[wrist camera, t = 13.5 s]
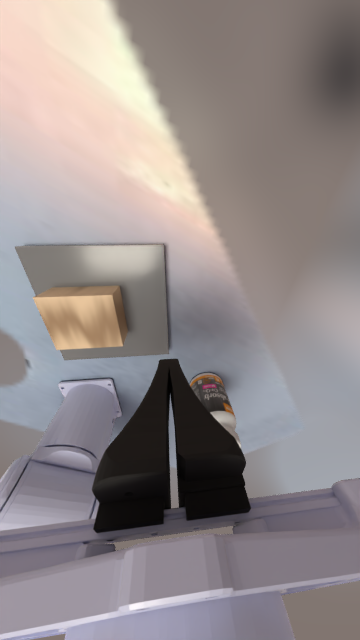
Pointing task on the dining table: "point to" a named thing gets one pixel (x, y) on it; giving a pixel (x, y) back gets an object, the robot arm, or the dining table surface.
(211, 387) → the pill bottle
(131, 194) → the dining table surface
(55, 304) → the block
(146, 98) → the dining table surface
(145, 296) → the board
